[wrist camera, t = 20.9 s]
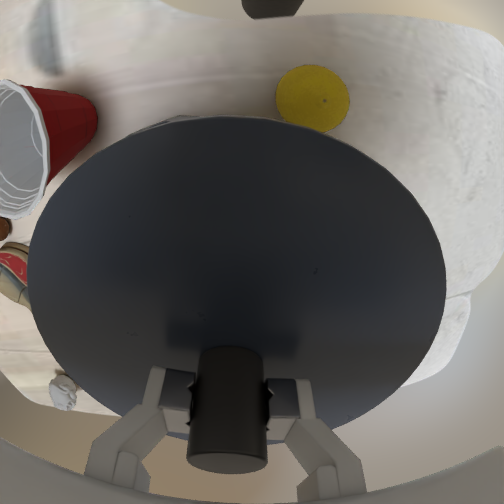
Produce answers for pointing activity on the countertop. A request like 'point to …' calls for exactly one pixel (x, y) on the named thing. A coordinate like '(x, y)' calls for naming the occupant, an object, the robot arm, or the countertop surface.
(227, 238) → the lid
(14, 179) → the plastic cup
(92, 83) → the countertop surface
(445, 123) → the countertop surface
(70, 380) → the frog figurine
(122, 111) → the countertop surface
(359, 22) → the countertop surface
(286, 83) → the lemon
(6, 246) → the toy food set
